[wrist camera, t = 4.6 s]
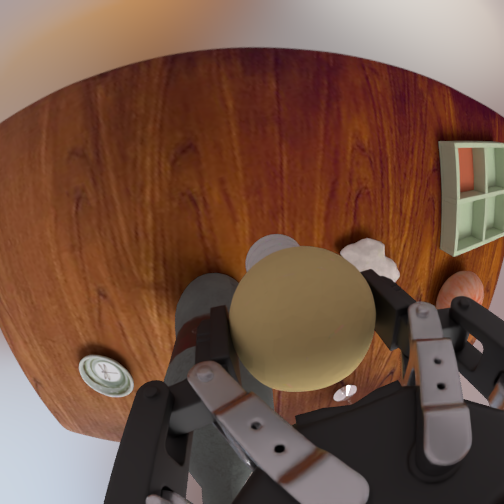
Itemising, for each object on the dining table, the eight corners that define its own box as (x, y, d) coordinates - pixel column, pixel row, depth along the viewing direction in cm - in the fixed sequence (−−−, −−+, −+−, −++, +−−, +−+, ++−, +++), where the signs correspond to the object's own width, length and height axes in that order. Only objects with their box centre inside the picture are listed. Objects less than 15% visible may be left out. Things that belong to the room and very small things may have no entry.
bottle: (217, 339, 38) (235, 558, 10) (165, 303, 35) (121, 544, 7) (264, 296, 36) (342, 535, 8) (210, 253, 33) (217, 547, 5)
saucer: (145, 386, 40) (143, 396, 38) (100, 388, 39) (96, 398, 37) (120, 344, 36) (116, 354, 34) (73, 349, 36) (68, 358, 34)
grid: (438, 141, 31) (454, 142, 28) (493, 141, 32) (507, 143, 28) (439, 249, 37) (453, 257, 34) (492, 229, 38) (505, 235, 35)
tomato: (419, 317, 42) (444, 341, 35) (439, 261, 38) (470, 281, 31) (452, 313, 44) (476, 334, 36) (471, 264, 40) (499, 282, 33)
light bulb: (226, 303, 19) (238, 427, 10) (221, 212, 17) (228, 301, 7) (315, 296, 20) (377, 400, 10) (322, 209, 17) (420, 279, 8)
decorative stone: (326, 234, 34) (319, 324, 41) (333, 247, 31) (323, 341, 38) (400, 231, 34) (382, 317, 41) (413, 243, 30) (390, 332, 37)
